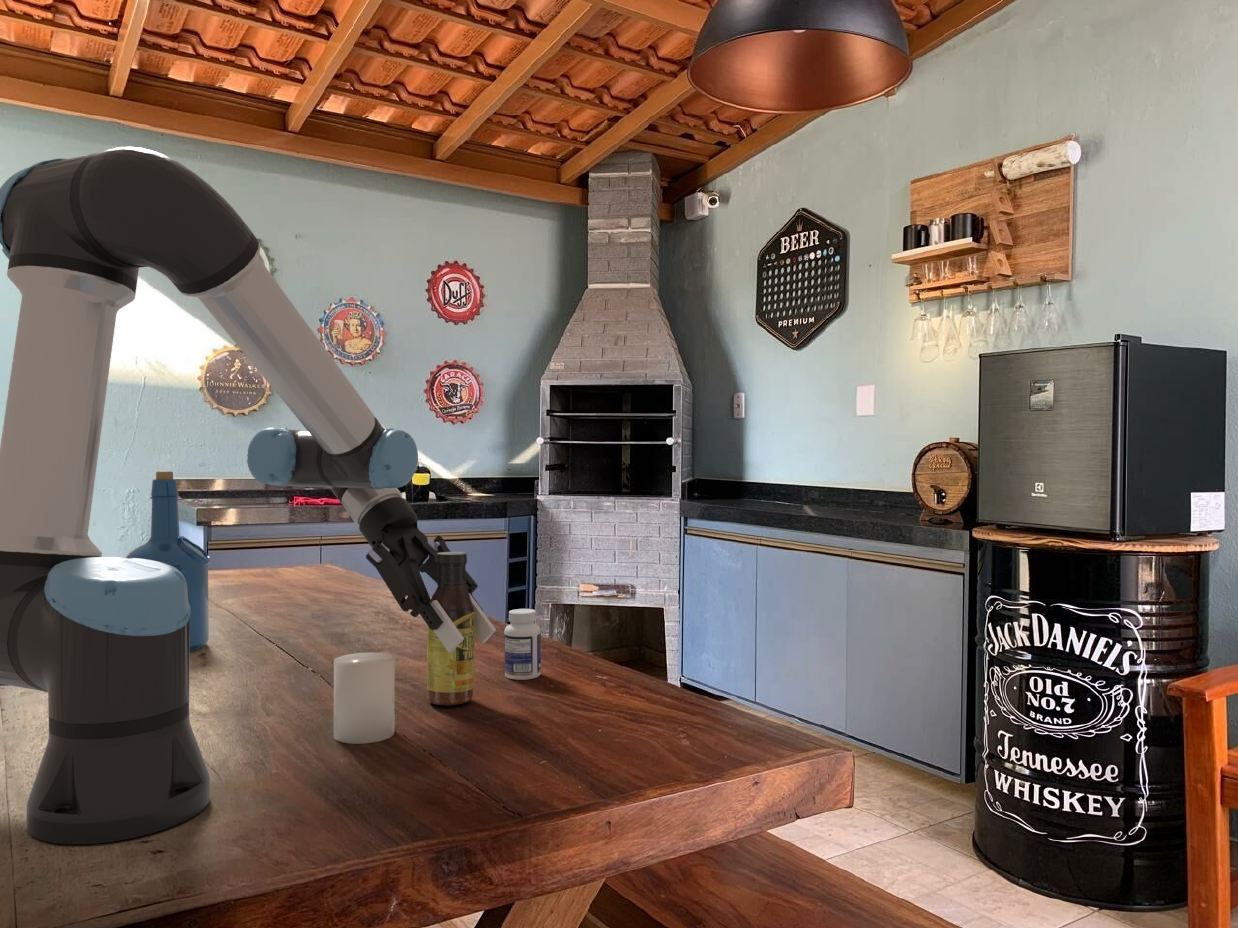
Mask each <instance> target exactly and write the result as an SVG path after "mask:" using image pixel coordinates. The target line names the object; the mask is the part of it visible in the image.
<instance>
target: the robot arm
mask: <svg viewBox="0 0 1238 928" xmlns="http://www.w3.org/2000/svg"><path fill="white" fill-rule="evenodd" d="M0 245H1V246H2V249H1V251H2V252H3V254H4V255H5V257H6V258H7V259H8V266H7V271H6V275H7V278H8V279H9V280H10V281H11V283H12V284H13V285H14V286H15V287H16V289H18V290H19V293H21V294H20V295H21V302H20V307H19V314H18V321H17V327H16V335H15V342H14V349H13V356H12V364H11V370H10V375H9V377H10V378H9V383H8V384H9V385H8V391H7V397H6V405H5V412H4V417H3V418H4V419H3V425H2V434H1V440H0V687H1V686H2V687H5V686H6V687H8V686H11V687H18V688H23V689H29V690H35V691H40V692H47V697H48V699H47V701H48V706H47V707H48V708H47V709H48V710H47V711H48V714H47V715H48V739H47V744H46V747H45V750H44V751H43V752H44V753H43V755H42V758H41V762H40V764H39V768H38V770H37V773H36V776H35V779H34V782H33V783H32V788H31V790H30V793H29V796H28V798H27V803H26V830H27V832H28V834H29V835H30V836H32V837H33V838H34V839H37V840H39V841H42V842H47V843H52V844H59V845H90V844H91V845H92V844H102V843H105V844H106V843H112V842H118V841H124V840H130V839H135V838H138V837H143V836H146V835H151V834H154V833H158V832H160V831H164V830H166V829H170V828H172V827H175V826H177V825H179V824H182V823H184V822H186V821H188V820H190V819H191V818H194V817H195V816H197V814H199V813H200V812H202V811H203V810H204V809H205V808H206V807H207V806H208V804H209V802H210V800H211V781H210V775H209V774H210V772H209V770H208V768H207V765H206V762H205V759H204V757H203V755H202V752H201V748H200V746H199V744H198V742H197V741H198V740H197V738H196V736H195V733H194V730H193V728H192V725H191V722H190V721H191V720H190V657H191V656H190V654H191V653H190V652H191V651H190V612H191V608H190V605H189V602H188V593H187V583H186V579H185V577H184V576H183V574H182V573H181V572H180V571H179V570H178V569H176V568H175V567H173V566H171V565H168V564H165V563H162V562H158V561H153V560H147V559H140V558H130V559H129V558H126V557H121V556H103V553H102V551H101V550H100V549H99V548H98V547H97V546H96V545H95V543H93V541H92V540H91V539H90V536H89V535H88V534H89V526H90V519H91V511H92V506H93V505H92V504H93V495H94V489H95V483H96V482H95V480H96V475H97V474H96V473H97V466H98V458H99V451H100V442H101V434H102V426H103V419H104V413H105V405H106V398H107V397H106V396H107V390H108V381H109V375H110V374H109V373H110V366H111V359H112V350H113V343H114V335H115V327H116V320H117V315H118V312H119V311H120V310H121V309H122V308H123V307H126V306H127V305H129V304H131V303H132V302H134V300H135V299H136V294H137V287H138V278H139V277H138V276H139V269H140V268H146V267H147V268H151V269H153V270H155V271H157V272H158V273H161V274H162V275H164V276H165V277H166V278H167V279H168V280H169V281H171V283H172V284H173V285H174V286H175V288H176V289H177V290H178V292H180V293H181V295H184V296H187V297H192V298H197V299H198V300H199V301H200V302H201V303H202V304H203V306H204V307H205V308H206V309H207V310H208V312H209V313H210V314H211V315H212V316H213V318H214V319H215V320H216V322H217V323H218V324H219V325H220V326H221V328H222V329H223V331H225V333H226V334H228V336H229V338H231V340H233V342H234V343H235V345H236V346H237V347H238V348H239V350H240V351H241V352H242V353H243V354H244V355H245V356H246V358H247V359H248V360H249V362H250V363H252V365H253V366H254V367H255V368H256V370H257V371H258V373H259V374H261V376H262V377H263V379H264V380H265V381H266V382H267V383H268V384H269V386H270V387H271V388H272V390H273V391H274V392H275V393H276V394H277V396H278V397H279V398H280V399H281V400H282V402H283V403H284V404H285V405H286V406H287V407H288V408H289V410H290V411H291V412H292V414H293V415H294V416H295V418H297V420H298V421H299V422H300V423H301V425H302V427H304V428H305V430H303V429H302V430H299V429H289V428H288V427H266V428H263V429H261V430H259V431H258V432H256V434H255V435H254V436H253V437H252V438H251V441H250V443H249V444H248V448H247V455H246V456H247V457H246V458H247V459H246V463H247V467H248V470H249V472H250V474H251V475H252V477H253V478H254V479H255V480H256V481H258V482H260V483H261V484H265V485H270V486H271V485H272V486H275V487H298V488H299V487H301V488H302V487H304V488H317V489H319V488H321V489H330V490H331V492H332V493H333V495H334V496H335V497H336V498H337V500H338V501H339V503H340V504H341V505H342V507H344V509H345V511H346V512H347V514H348V515H349V516H350V518H351V519H352V521H353V522H354V524H355V525H356V526H357V527H358V529H359V532H360V533H361V534H362V535H363V537H364V540H366V541H367V543H368V544H369V546H370V547H371V548H370V549H369V551H368V552H367V554H366V555H365V558H366V560H367V561H368V562H369V563H370V564H372V566H373V567H374V568H375V569H376V571H377V572H378V574H379V576H380V577H381V579H382V580H383V582H384V583H385V585H386V586H387V589H388V590H389V592H390V593H391V595H392V596H393V598H394V599H395V601H396V603H397V604H398V606H399V607H400V609H401V610H402V611H403V612H405V613H407V612H409V610H411V611H410V613H409V614H410V616H411V617H413V618H417V617H418V616H419V615H420V617H421V618H422V619H423V621H424V622H425V623H426V625H427V627H428V626H429V628H430V629H431V630H433V631H434V632H435V634H436V635H437V637H438V638H439V639H440V641H441V642H442V644H443V645H444V647H445V648H446V649H447V651H448V652H449V653H450V652H453V651H454V650H455V649H456V647H457V646H458V645H459V644H460V643H461V642H462V641H463V640H464V638H463V636H462V635H461V633H460V632H459V631H458V629H457V628H456V626H455V625H454V623H453V622H452V621H451V619H450V618H449V616H448V615H447V614H446V612H445V611H444V609H443V608H442V607H441V605H440V604H439V602H438V601H437V600H434V601H432V602H431V604H430V600H431V597H430V594H429V591H428V589H427V587H426V584H425V582H424V579H423V577H422V574H421V573H425V574H426V575H428V577H429V578H431V579H432V580H433V581H434V582H435V583H436V584H437V581H438V565H437V562H436V560H437V559H436V557H437V553H441V552H452V551H451V550H450V549H449V548H448V546H447V543H446V541H445V539H444V538H443V537H442V536H441V535H436V536H435V538H433V539H432V538H428V537H427V535H426V534H425V533H423V532H422V531H421V530H420V529H419V528H418V515H417V514H416V512H415V510H414V509H413V508H412V507H411V505H410V504H409V502H408V501H407V500H406V499H405V498H404V497H403V494H402V492H401V491H400V490H399V489H400V488H403V487H405V486H406V485H408V484H409V483H410V481H412V479H413V477H414V475H415V474H416V472H417V469H418V464H419V453H418V452H419V451H418V448H417V444H416V442H415V440H414V438H413V437H412V436H411V434H409V433H408V432H406V431H405V430H400V429H395V428H393V427H389V428H384V427H383V425H382V424H381V423H380V421H379V420H378V419H377V417H376V416H375V414H374V413H373V412H372V411H371V409H370V408H369V406H368V405H367V403H366V402H365V401H364V400H363V397H361V395H360V394H359V392H358V391H357V390H356V389H355V387H354V386H353V384H352V383H351V381H350V380H349V379H348V377H347V376H346V375H345V374H344V372H343V370H342V369H341V368H340V366H339V365H338V363H337V362H336V361H335V360H334V358H333V357H332V356H331V354H330V353H329V351H328V350H327V349H326V347H325V346H324V344H323V343H322V342H321V341H320V339H319V338H318V337H317V335H316V333H314V331H313V330H312V328H311V327H310V325H309V324H308V323H307V322H306V320H305V319H304V318H303V316H302V314H300V312H299V311H298V309H297V307H295V305H294V304H293V302H292V301H291V300H290V298H289V297H288V295H286V293H285V292H284V290H283V289H282V288H281V286H280V285H279V284H278V282H277V281H276V279H275V277H274V276H273V275H272V274H271V272H270V271H269V270H268V268H267V267H266V266H265V264H264V263H263V261H262V260H261V258H260V257H259V256H260V252H261V244H260V241H259V240H258V238H257V237H256V235H255V234H254V233H253V231H252V230H251V228H250V227H249V226H248V225H247V224H246V222H245V221H244V220H243V219H242V217H241V216H240V215H239V214H238V212H237V211H236V210H235V209H234V208H233V206H231V204H230V203H229V202H228V201H227V200H226V198H224V197H223V196H222V195H221V194H220V193H218V191H217V190H216V189H214V188H213V187H212V186H211V184H209V183H208V182H207V181H205V180H204V179H203V178H202V177H201V176H199V175H198V174H196V173H195V172H193V171H192V170H191V169H190V168H188V167H186V165H183V164H182V163H180V162H179V161H177V160H175V159H173V158H171V157H169V156H167V155H165V154H163V153H160V152H158V151H156V150H155V151H154V150H151V149H146V148H143V147H135V146H119V147H115V148H110V149H109V148H108V149H106V150H103V151H99V152H95V153H91V154H90V153H89V154H85V155H80V156H76V157H75V156H74V157H71V158H52V159H49V160H42V161H39V162H37V163H34V164H33V165H31V166H29V167H25V168H24V169H21V170H19V171H17V172H15V173H14V174H12V175H11V176H10V177H9V178H8V179H7V180H6V181H4V183H3V184H2V185H1V186H0ZM398 488H399V489H398ZM465 574H466V575H465V576H466V578H465V579H466V587H467V590H468V593H469V596H470V599H471V601H472V604H473V607H474V610H475V637H476V638H477V639H478V641H479V642H480V643H481V644H484V643H486V642H487V641H488V640H489V639H490V638H491V636H492V635H493V634H494V633H495V632H496V631H497V629H496V627H495V626H494V625H493V623H492V621H490V619H489V618H488V616H487V615H486V614H485V612H484V610H483V608H482V606H481V605H480V604H479V602H478V601H477V600H476V599H475V597H474V596H473V593H474V592H475V591H476V590H477V588H479V587H478V584H477V583H476V581H475V580H474V579H473V577H472V576H471V575H470V573H469V572H468V571H467V570H466V573H465Z"/></svg>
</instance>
